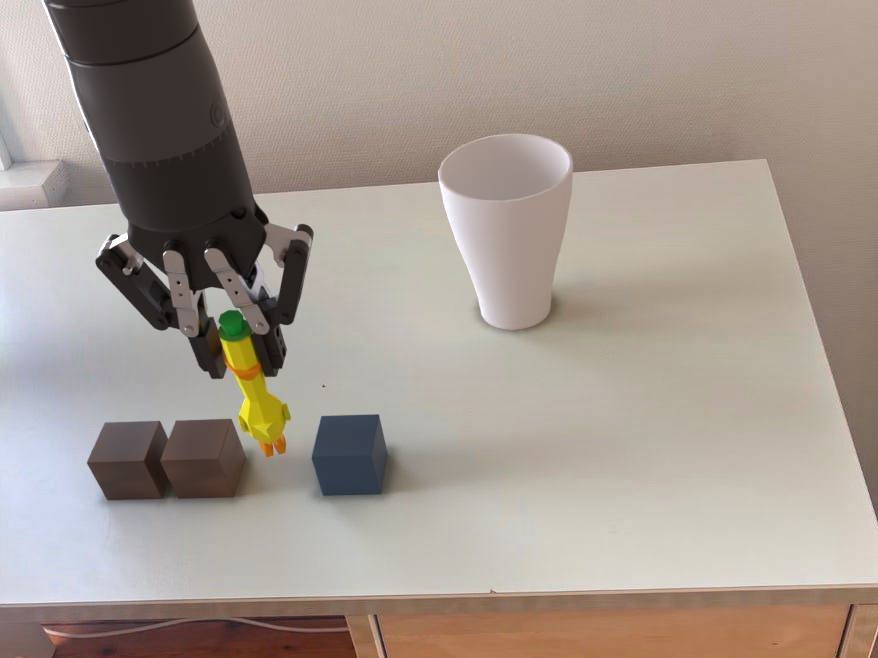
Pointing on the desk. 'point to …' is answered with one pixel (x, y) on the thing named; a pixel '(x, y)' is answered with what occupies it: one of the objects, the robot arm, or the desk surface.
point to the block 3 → (350, 455)
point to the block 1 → (130, 460)
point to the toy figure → (252, 385)
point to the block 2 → (204, 458)
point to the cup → (509, 221)
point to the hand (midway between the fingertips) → (246, 369)
